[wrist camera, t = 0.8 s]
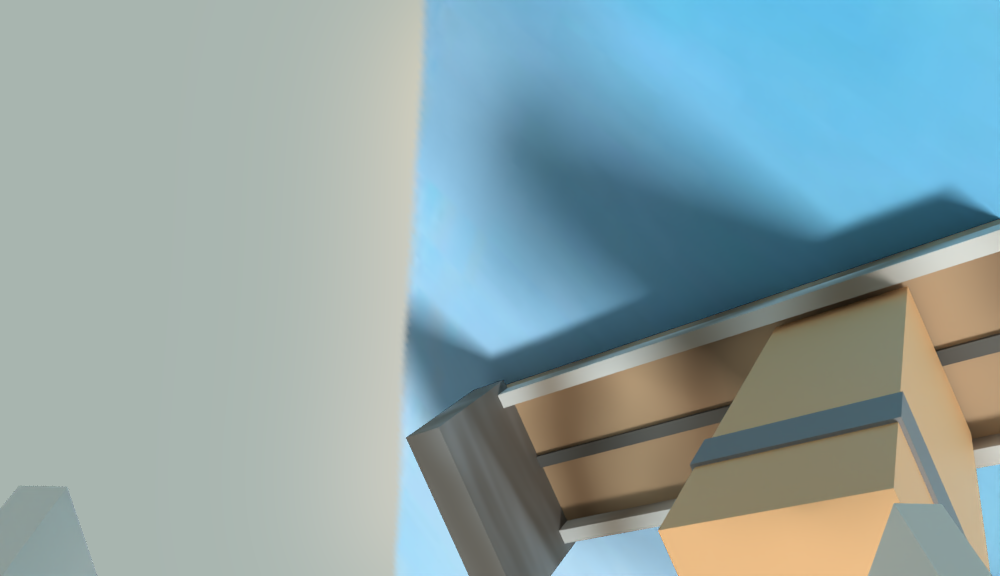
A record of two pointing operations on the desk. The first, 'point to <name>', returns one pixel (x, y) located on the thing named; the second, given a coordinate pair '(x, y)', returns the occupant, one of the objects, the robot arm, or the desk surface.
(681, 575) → the tan box with band
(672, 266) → the desk surface
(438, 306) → the desk surface
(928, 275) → the track
